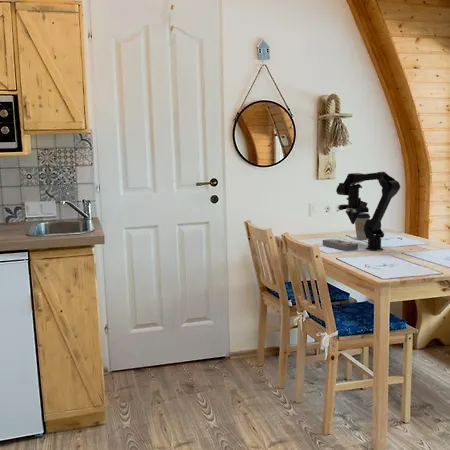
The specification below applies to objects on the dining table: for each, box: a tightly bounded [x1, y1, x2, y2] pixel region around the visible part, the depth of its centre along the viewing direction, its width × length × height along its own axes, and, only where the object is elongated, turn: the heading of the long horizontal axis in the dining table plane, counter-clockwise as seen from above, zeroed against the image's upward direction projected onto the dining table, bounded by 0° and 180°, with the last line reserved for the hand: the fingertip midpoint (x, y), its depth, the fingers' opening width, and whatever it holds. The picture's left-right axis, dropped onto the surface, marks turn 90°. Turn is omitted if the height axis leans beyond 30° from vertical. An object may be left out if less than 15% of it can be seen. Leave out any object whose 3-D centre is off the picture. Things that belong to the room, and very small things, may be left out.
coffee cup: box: [354, 212, 371, 241], centre depth 310 cm, size 9×9×15 cm
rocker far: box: [327, 238, 341, 242], centre depth 290 cm, size 6×4×1 cm, turn 27°
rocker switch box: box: [322, 238, 359, 252], centre depth 286 cm, size 20×8×3 cm, turn 27°
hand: (353, 224), depth 289 cm, fingers closed
